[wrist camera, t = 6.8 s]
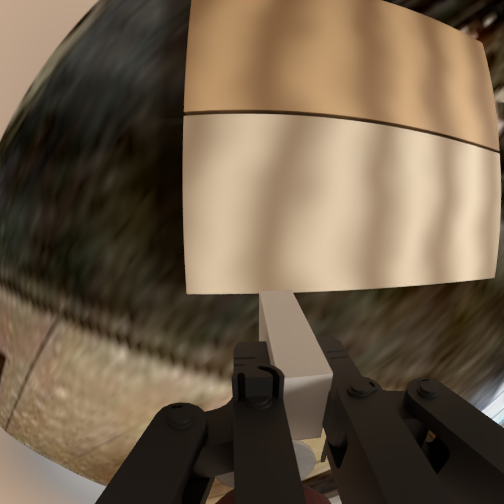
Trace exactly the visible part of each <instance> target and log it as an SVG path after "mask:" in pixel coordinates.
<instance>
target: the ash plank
mask: <svg viewBox="0 0 504 504" xmlns="http://www.w3.org/2000/svg"><path fill="white" fill-rule="evenodd" d="M500 216H501V172H500V155H499V154H498V153H495V152H492V151H489V150H486V149H483V148H480V147H477V146H473V145H470V144H466V143H463V142H459V141H456V140H452V139H448V138H444V137H440V136H436V135H431V134H427V133H423V132H418V131H413V130H408V129H403V128H398V127H392V126H386V125H380V124H374V123H367V122H360V121H352V120H344V119H335V118H325V117H313V116H299V115H279V114H209V115H189V116H184V124H183V228H184V254H185V274H186V290H187V294H254V293H259V291H280V290H292V292H318V291H339V290H358V289H374V288H389V287H403V286H416V285H428V284H439V283H450V282H460V281H470V280H479V279H488V278H494V277H495V270H496V263H497V254H498V245H499V233H500Z"/></svg>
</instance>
